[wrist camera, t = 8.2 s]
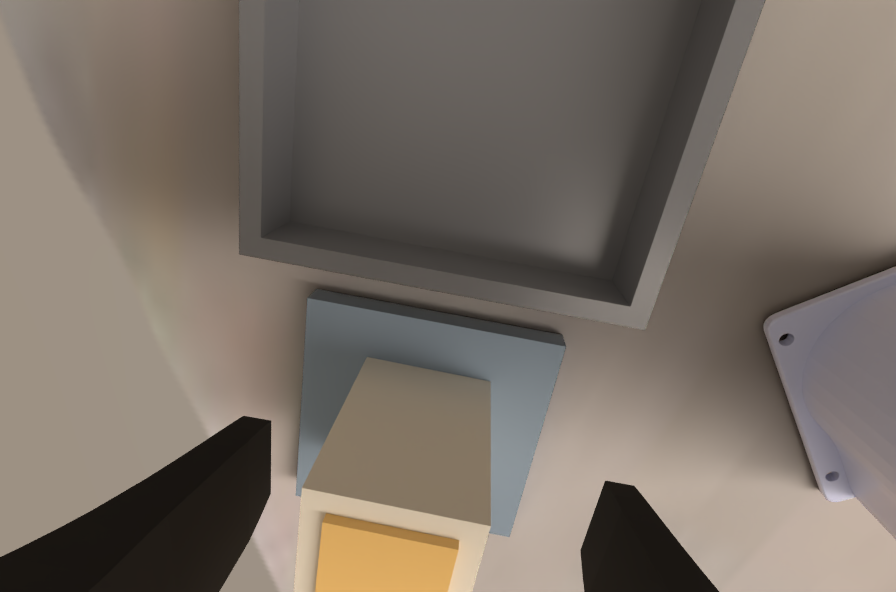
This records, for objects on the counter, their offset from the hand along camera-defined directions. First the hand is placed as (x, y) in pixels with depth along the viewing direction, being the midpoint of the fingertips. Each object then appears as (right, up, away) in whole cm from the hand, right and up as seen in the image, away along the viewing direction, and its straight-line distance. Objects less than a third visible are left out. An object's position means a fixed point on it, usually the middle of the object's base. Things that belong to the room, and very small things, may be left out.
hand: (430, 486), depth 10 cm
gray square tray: (+1, +11, +5) cm, 13 cm away
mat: (-1, -1, +11) cm, 11 cm away
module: (-1, -1, +10) cm, 10 cm away
